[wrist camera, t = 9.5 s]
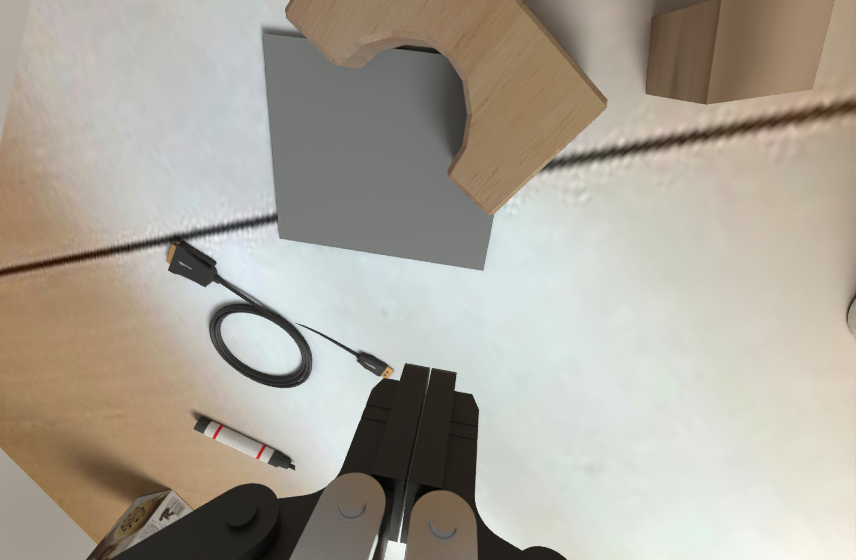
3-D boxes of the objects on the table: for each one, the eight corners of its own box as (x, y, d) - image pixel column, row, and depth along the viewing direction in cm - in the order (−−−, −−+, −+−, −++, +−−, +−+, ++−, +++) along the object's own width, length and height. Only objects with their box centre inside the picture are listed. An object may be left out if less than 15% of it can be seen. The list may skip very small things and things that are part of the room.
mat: (522, 63, 31) (523, 63, 30) (483, 268, 40) (483, 270, 39) (265, 33, 32) (262, 33, 32) (281, 236, 41) (279, 238, 41)
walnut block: (730, 3, 27) (841, -27, 19) (718, 82, 30) (812, 89, 21) (652, 18, 28) (722, -4, 20) (645, 94, 31) (706, 104, 22)
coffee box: (161, 518, 72) (80, 627, 58) (136, 496, 70) (46, 604, 56) (196, 511, 69) (121, 624, 55) (172, 488, 67) (86, 600, 53)
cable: (345, 425, 54) (341, 434, 53) (153, 315, 50) (144, 322, 48) (395, 366, 48) (393, 374, 47) (181, 234, 44) (171, 240, 42)
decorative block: (488, 220, 30) (278, 14, 26) (489, 201, 35) (313, 26, 32) (613, 104, 26) (381, -166, 22) (593, 101, 31) (403, -119, 27)
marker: (201, 421, 58) (192, 432, 56) (204, 413, 57) (195, 424, 55) (296, 465, 60) (291, 477, 58) (300, 458, 59) (295, 470, 57)
